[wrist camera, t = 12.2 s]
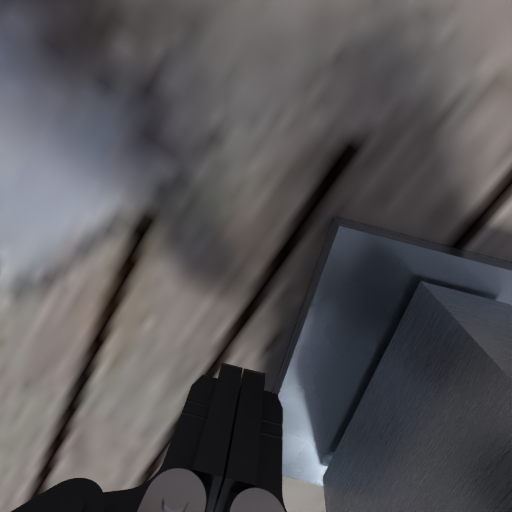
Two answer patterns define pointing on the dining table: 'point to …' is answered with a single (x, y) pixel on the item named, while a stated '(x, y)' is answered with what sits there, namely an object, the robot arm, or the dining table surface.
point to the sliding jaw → (433, 414)
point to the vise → (360, 329)
